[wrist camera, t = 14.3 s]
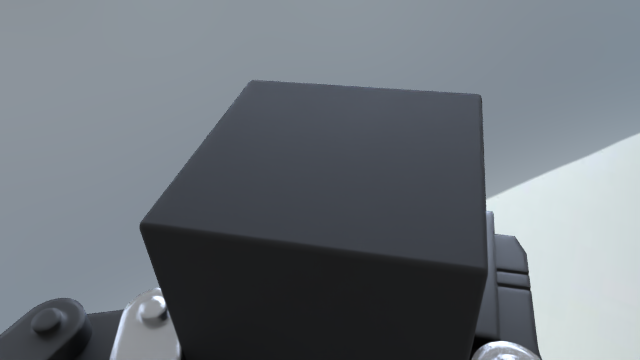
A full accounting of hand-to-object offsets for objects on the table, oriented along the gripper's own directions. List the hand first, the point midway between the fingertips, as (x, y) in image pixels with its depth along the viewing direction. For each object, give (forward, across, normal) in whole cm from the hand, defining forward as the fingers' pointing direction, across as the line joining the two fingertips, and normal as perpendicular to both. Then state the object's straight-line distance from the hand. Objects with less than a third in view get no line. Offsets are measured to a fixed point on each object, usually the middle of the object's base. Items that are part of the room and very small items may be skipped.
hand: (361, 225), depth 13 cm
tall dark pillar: (-3, 0, +6) cm, 7 cm away
